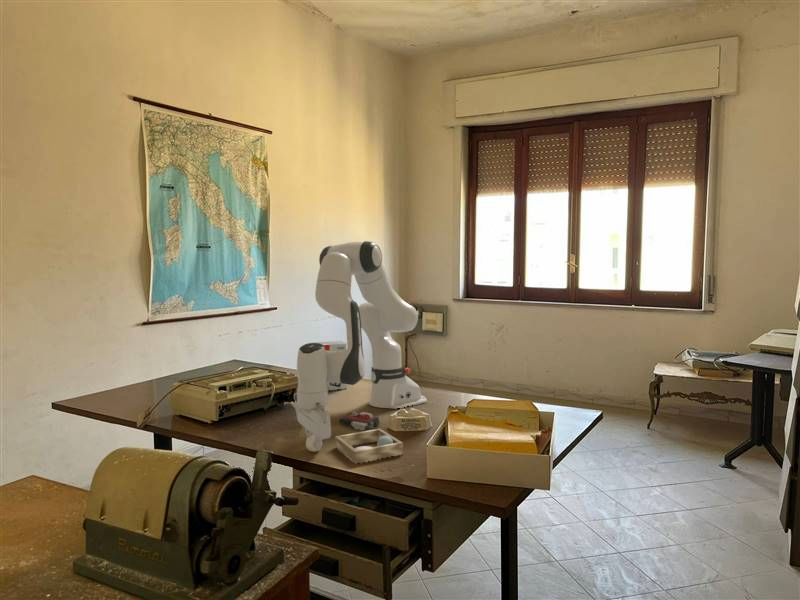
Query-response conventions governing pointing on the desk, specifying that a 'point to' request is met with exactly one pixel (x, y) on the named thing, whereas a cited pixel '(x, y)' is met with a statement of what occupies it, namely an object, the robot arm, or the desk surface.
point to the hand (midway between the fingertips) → (314, 445)
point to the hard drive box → (335, 347)
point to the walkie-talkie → (361, 421)
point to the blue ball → (384, 440)
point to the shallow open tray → (369, 454)
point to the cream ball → (311, 444)
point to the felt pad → (362, 447)
